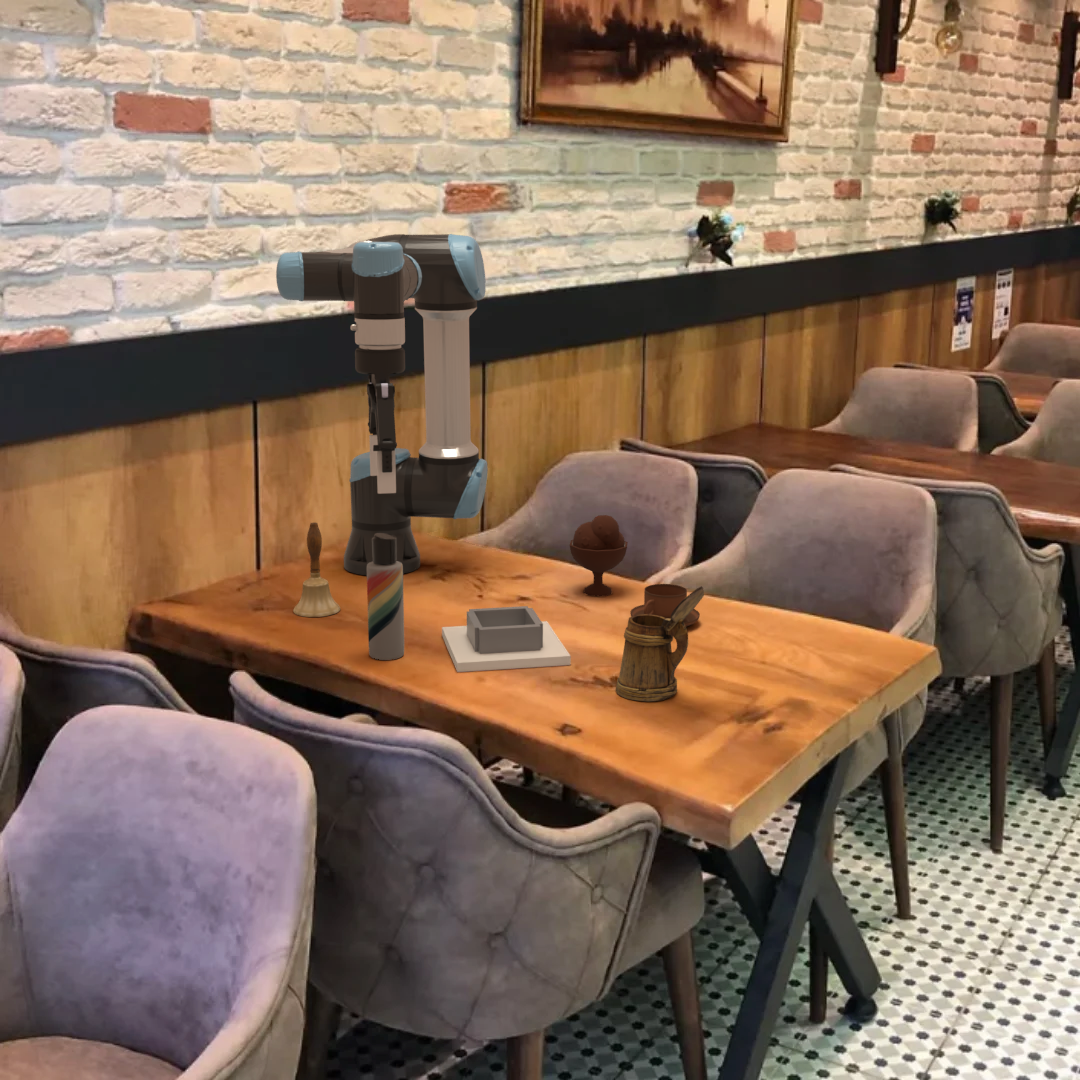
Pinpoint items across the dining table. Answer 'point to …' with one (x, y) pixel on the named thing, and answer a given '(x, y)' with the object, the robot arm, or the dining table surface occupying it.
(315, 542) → the hand bell
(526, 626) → the bottle holder
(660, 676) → the wooden mug
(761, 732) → the dining table surface
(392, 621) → the lotion bottle
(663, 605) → the cup and saucer
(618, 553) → the ice cream bowl
